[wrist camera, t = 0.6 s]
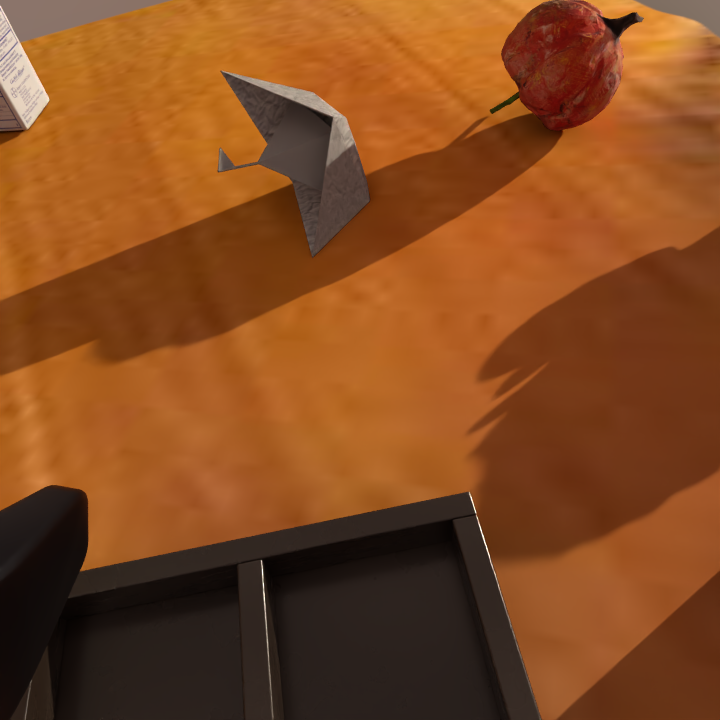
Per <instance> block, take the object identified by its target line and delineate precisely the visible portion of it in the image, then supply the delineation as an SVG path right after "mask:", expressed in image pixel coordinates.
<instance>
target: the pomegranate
mask: <svg viewBox="0 0 720 720" xmlns="http://www.w3.org/2000/svg"><path fill="white" fill-rule="evenodd" d="M643 19H644V18H643V17H640V16H639V15H638V14H637V13H631V14H628V15H626V16H624V17H621V18H618V19H608V18H604V17H603V14H602V11H601V10H599V9H598V8H597V7H595V6H594V5H592V4H590V3H588V2H586V1H582V0H552V1H548V2H543V3H542V4H540V5H539V6H537V7H535V8H534V9H532V10H531V11H530V12H529V13H528V14H527V15H526V16H525V17H524V18H523V19H522V20H521V21H520V22H519V23H518V24H517V26H516V27H515V29H514V30H513V31H512V32H511V34H510V35H509V36H508V37H507V39H506V42H505V44H504V47H503V49H502V53H501V55H502V60H503V61H504V65H505V68H506V70H507V71H508V73H509V75H510V76H511V78H512V79H513V80H514V81H515V83H516V84H517V86H518V88H519V92H517V93H516V94H515V95H513V96H512V97H510V98H509V99H508V100H506V101H504V102H503V103H501V104H499V105H498V106H496V107H494V108H493V109H491V110H490V112H491V113H492V114H493V113H494V112H496V111H498V110H500V109H501V108H503V107H505V106H506V105H510V104H511V103H513V102H514V101H515V100H516V99H518V98H519V97H520V100H521V102H522V103H523V104H524V105H525V106H526V107H527V108H528V109H529V110H531V111H532V112H533V113H534V114H535V115H536V116H537V117H538V118H539V119H540V120H541V121H542V122H543V125H544V126H545V127H546V128H547V129H549V130H556V131H559V130H563V129H568V128H573V127H576V126H578V125H582V124H583V123H585V122H587V121H589V120H591V119H592V118H594V117H595V116H596V115H597V114H599V113H600V112H601V111H602V110H603V109H604V108H605V107H606V106H607V105H608V104H609V103H610V101H611V99H612V97H613V95H614V94H615V92H616V90H617V88H618V86H619V84H620V80H621V75H622V70H623V63H622V60H623V58H624V55H623V51H622V47H621V44H620V39H619V37H620V36H621V34H622V33H623V32H624V31H625V30H626V29H627V28H628V27H629V26H630V25H632V24H635V23H637V22H642V20H643Z"/></svg>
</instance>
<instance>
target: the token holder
mask: <svg viewBox="0 0 720 720" xmlns="http://www.w3.org/2000/svg"><path fill="white" fill-rule="evenodd" d="M10 720H542V719H541V716H540V713H539V710H538V707H537V703H536V700H535V697H534V694H533V691H532V688H531V684H530V681H529V678H528V675H527V672H526V669H525V665H524V662H523V659H522V656H521V653H520V650H519V646H518V643H517V640H516V637H515V634H514V631H513V627H512V624H511V621H510V618H509V615H508V612H507V608H506V605H505V602H504V599H503V596H502V593H501V589H500V586H499V583H498V580H497V577H496V573H495V570H494V567H493V564H492V561H491V558H490V554H489V551H488V548H487V545H486V542H485V539H484V535H483V532H482V529H481V526H480V523H479V520H478V517H477V515H476V510H475V507H474V503H473V500H472V497H471V494H470V492H465V493H460V494H455V495H450V496H445V497H441V498H436V499H431V500H426V501H421V502H416V503H411V504H406V505H402V506H397V507H392V508H387V509H382V510H377V511H372V512H368V513H363V514H358V515H353V516H348V517H343V518H338V519H333V520H329V521H324V522H319V523H314V524H309V525H304V526H299V527H295V528H290V529H285V530H280V531H275V532H270V533H265V534H260V535H256V536H251V537H246V538H241V539H236V540H231V541H226V542H222V543H217V544H212V545H207V546H202V547H197V548H192V549H187V550H183V551H178V552H173V553H168V554H163V555H158V556H153V557H149V558H144V559H139V560H134V561H129V562H124V563H119V564H114V565H110V566H105V567H100V568H95V569H90V570H85V571H80V572H79V574H78V576H77V578H76V581H75V583H74V585H73V587H72V590H71V592H70V594H69V597H68V599H67V601H66V603H65V606H64V608H63V610H62V613H61V615H60V617H59V619H58V622H57V624H56V626H55V628H54V631H53V633H52V635H51V638H50V640H49V642H48V644H47V647H46V649H45V651H44V653H43V656H42V658H41V660H40V663H39V665H38V667H37V669H36V671H35V673H34V676H33V678H32V680H31V682H30V684H29V686H28V688H27V690H26V692H25V694H24V695H23V697H22V699H21V701H20V703H19V705H18V707H17V708H16V710H15V712H14V714H13V715H12V717H11V719H10Z"/></svg>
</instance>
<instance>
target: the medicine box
mask: <svg viewBox="0 0 720 720" xmlns="http://www.w3.org/2000/svg"><path fill="white" fill-rule="evenodd" d="M48 102H49V97H48V96H47V94H46V92H45V90H44V88H43V86H42V84H41V82H40V80H39V78H38V77H37V75H36V73H35V71H34V69H33V67H32V65H31V63H30V61H29V59H28V57H27V55H26V54H25V52H24V50H23V48H22V46H21V44H20V42H19V40H18V38H17V36H16V35H15V33H14V31H13V29H12V27H11V25H10V23H9V21H8V19H7V17H6V15H5V13H4V11H3V9H2V8H1V6H0V131H13V130H28V129H29V128H30V126H31V125H32V124H33V123H34V121H35V120H36V119H37V117H38V116H39V114H40V113H41V112H42V110H43V109H44V107H45V106H46V105H47V104H48Z"/></svg>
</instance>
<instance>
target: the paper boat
mask: <svg viewBox="0 0 720 720" xmlns="http://www.w3.org/2000/svg"><path fill="white" fill-rule="evenodd" d="M221 73H222V74H223V76H224V77H225V79H226V80H227V82H228V84H229V85H230V87H231V88H232V90H233V91H234V93H235V94H236V96H237V97H238V99H239V101H240V102H241V104H242V105H243V107H244V108H245V110H246V111H247V113H248V114H249V116H250V117H251V119H252V121H253V122H254V124H255V125H256V127H257V128H258V130H259V131H260V133H261V134H262V136H263V138H264V139H265V141H266V142H267V144H268V145H267V147H266V148H265V150H264V152H263V154H262V155H261V157H260V159H259V161H258V162H255V163H250V164H245V165H240V166H234V165H233V163H232V162H231V161H230V159H229V158H228V157H227V156H226V154H225V153H224V152H223V150H222V149H221V148H220V149H219V164H218V172H223V171H228V170H233V169H238V168H242V167H247V166H252V165H257V164H260V165H262V166H265V167H267V168H269V169H272V170H274V171H276V172H279V173H281V174H283V175H285V176H288V177H289V178H290V179H291V181H292V182H293V186H294V190H295V194H296V197H297V201H298V205H299V209H300V213H301V216H302V220H303V224H304V228H305V232H306V235H307V239H308V243H309V247H310V250H311V254H312V258H313V257H314V256H315V255H316V254H317V253H318V252H319V251H320V250H321V249H322V248H323V247H324V246H325V245H326V244H327V243H328V242H329V241H330V240H331V239H332V238H333V237H334V236H335V235H336V234H337V233H338V232H339V231H340V230H341V229H342V228H343V227H344V226H345V225H346V224H347V223H348V222H349V221H350V220H351V219H352V218H353V217H354V216H355V215H356V214H357V213H358V212H359V211H360V210H361V209H362V208H363V207H364V206H365V205H366V204H367V203H368V202H369V201H370V197H369V191H368V185H367V180H366V177H365V174H364V170H363V167H362V164H361V161H360V158H359V154H358V151H357V148H356V145H355V142H354V139H353V136H352V133H351V130H350V128H349V125H348V122H347V119H346V117H344V116H343V115H342V114H340V113H339V112H338V111H336V110H335V109H334V108H333V107H331V106H330V105H329V104H327V103H326V102H325V101H323V100H322V99H321V98H320V97H318V96H317V95H316V94H314V93H313V92H309V91H305V90H300V89H296V88H292V87H288V86H284V85H279V84H275V83H271V82H267V81H262V80H258V79H254V78H250V77H245V76H241V75H237V74H233V73H228V72H224V71H221Z"/></svg>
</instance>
